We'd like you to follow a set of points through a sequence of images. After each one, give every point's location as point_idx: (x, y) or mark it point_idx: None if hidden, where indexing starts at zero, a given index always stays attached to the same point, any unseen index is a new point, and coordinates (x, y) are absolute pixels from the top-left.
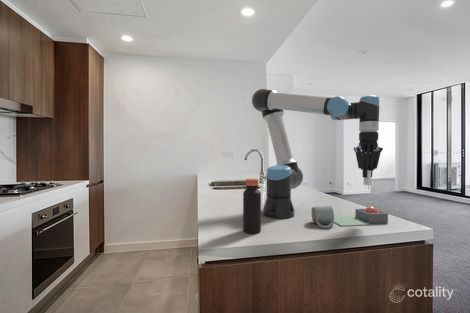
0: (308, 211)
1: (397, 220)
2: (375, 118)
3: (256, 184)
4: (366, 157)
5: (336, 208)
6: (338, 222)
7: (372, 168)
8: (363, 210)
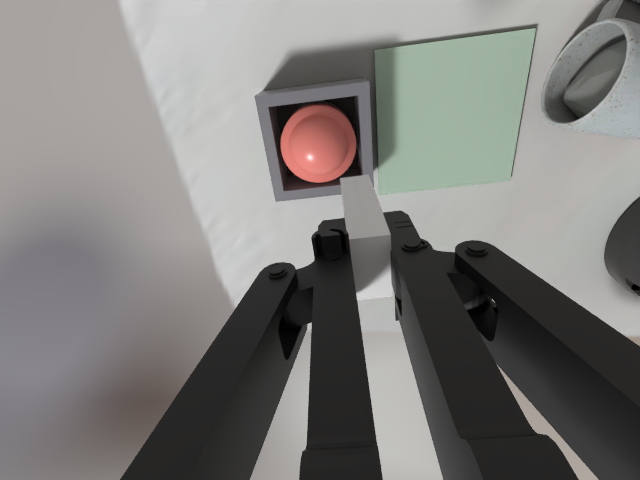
0: None
1: (196, 127)
2: None
3: None
4: (491, 376)
5: (365, 309)
6: (512, 82)
7: (331, 254)
8: (348, 164)
